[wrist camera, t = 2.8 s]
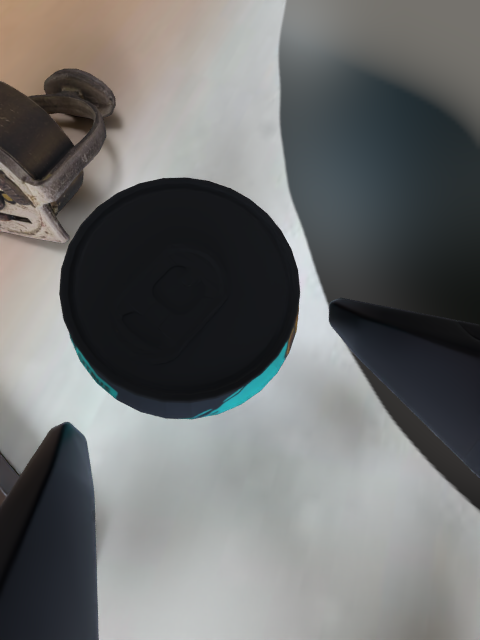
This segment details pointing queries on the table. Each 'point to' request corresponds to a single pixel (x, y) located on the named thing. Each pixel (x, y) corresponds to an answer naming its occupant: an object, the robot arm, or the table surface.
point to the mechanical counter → (47, 151)
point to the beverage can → (180, 297)
